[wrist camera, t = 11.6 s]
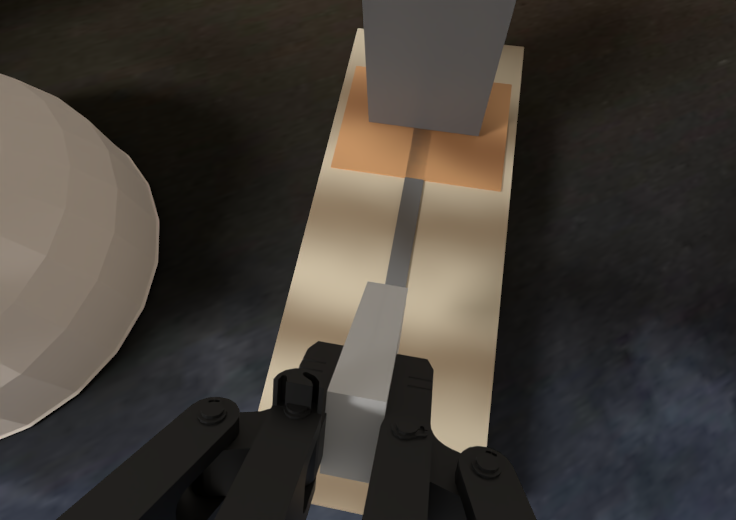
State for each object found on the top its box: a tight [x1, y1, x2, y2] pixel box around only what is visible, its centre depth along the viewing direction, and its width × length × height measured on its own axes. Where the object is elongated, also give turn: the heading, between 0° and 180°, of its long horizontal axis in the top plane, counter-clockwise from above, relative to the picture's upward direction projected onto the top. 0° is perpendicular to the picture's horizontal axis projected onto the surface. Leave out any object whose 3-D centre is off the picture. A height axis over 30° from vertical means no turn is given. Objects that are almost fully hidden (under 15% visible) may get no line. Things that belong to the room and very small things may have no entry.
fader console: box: [258, 28, 524, 515], centre depth 27 cm, size 26×10×3 cm, turn 169°
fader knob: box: [362, 0, 516, 136], centre depth 23 cm, size 4×6×11 cm, turn 79°
